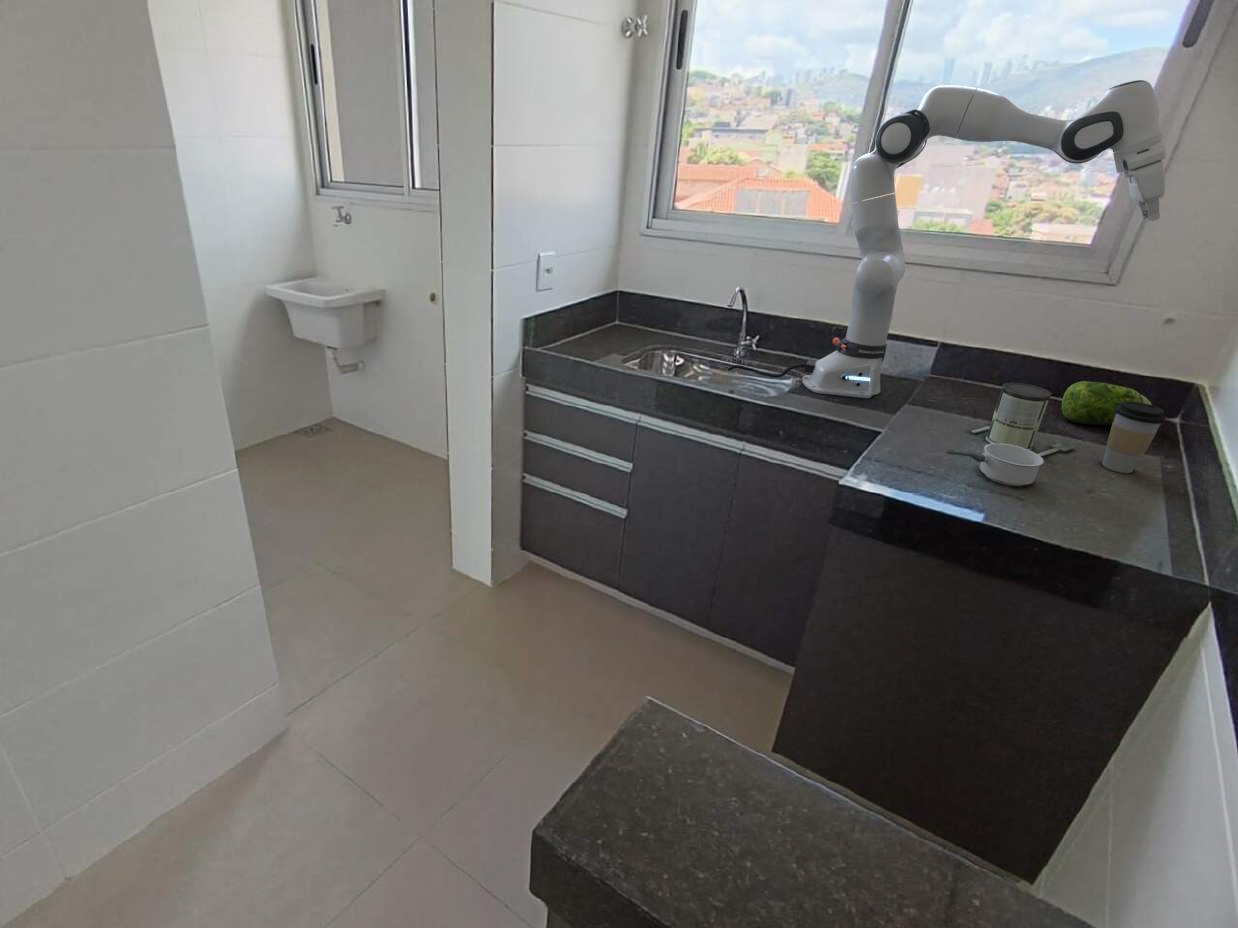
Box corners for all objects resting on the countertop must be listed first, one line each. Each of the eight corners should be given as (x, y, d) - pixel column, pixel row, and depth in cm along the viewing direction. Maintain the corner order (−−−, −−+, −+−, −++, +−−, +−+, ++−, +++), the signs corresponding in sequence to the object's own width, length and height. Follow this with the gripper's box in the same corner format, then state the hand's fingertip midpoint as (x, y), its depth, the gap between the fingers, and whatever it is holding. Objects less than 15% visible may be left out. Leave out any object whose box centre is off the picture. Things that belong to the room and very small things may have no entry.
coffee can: (978, 433, 167) (995, 380, 161) (1020, 437, 166) (1038, 384, 160) (995, 450, 158) (1013, 394, 152) (1039, 453, 157) (1060, 398, 151)
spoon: (1041, 460, 153) (1042, 457, 153) (1028, 455, 156) (1029, 452, 156) (1072, 449, 160) (1073, 447, 160) (1059, 444, 163) (1060, 442, 163)
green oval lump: (1153, 436, 172) (1171, 395, 167) (1071, 428, 174) (1087, 388, 169) (1127, 419, 182) (1144, 381, 177) (1050, 413, 184) (1064, 374, 179)
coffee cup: (1144, 468, 152) (1171, 408, 146) (1138, 481, 146) (1166, 418, 140) (1097, 455, 158) (1121, 396, 152) (1089, 466, 152) (1113, 406, 145)
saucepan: (930, 462, 149) (936, 439, 147) (1017, 467, 149) (1025, 444, 147) (951, 485, 139) (959, 461, 136) (1046, 490, 139) (1055, 467, 136)
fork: (976, 435, 166) (977, 433, 166) (967, 431, 168) (968, 429, 167) (1009, 425, 173) (1010, 424, 173) (1001, 422, 175) (1001, 420, 175)
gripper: (1116, 164, 156) (1127, 221, 159) (1128, 163, 140) (1140, 227, 143) (1150, 152, 153) (1161, 211, 155) (1166, 149, 136) (1177, 215, 139)
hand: (1151, 219), depth 149 cm, fingers open, 8 cm apart
